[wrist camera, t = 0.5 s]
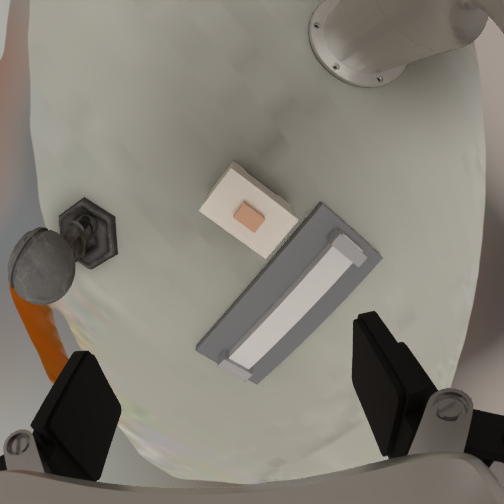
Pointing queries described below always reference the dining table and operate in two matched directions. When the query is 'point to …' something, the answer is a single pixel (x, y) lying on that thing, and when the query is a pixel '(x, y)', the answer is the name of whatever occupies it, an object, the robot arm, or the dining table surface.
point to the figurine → (61, 252)
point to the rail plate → (279, 284)
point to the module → (249, 210)
